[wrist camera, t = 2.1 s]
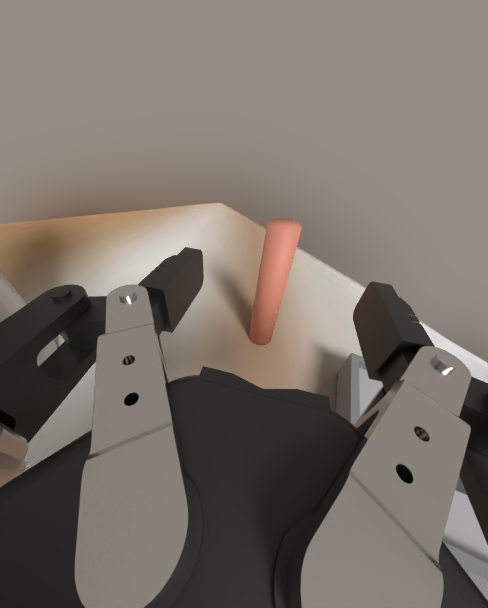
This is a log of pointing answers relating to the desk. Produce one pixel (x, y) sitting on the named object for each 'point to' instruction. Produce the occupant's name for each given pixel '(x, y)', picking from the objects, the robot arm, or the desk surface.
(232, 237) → the desk surface
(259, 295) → the peg
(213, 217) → the desk surface
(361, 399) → the grey square hole base
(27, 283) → the desk surface
